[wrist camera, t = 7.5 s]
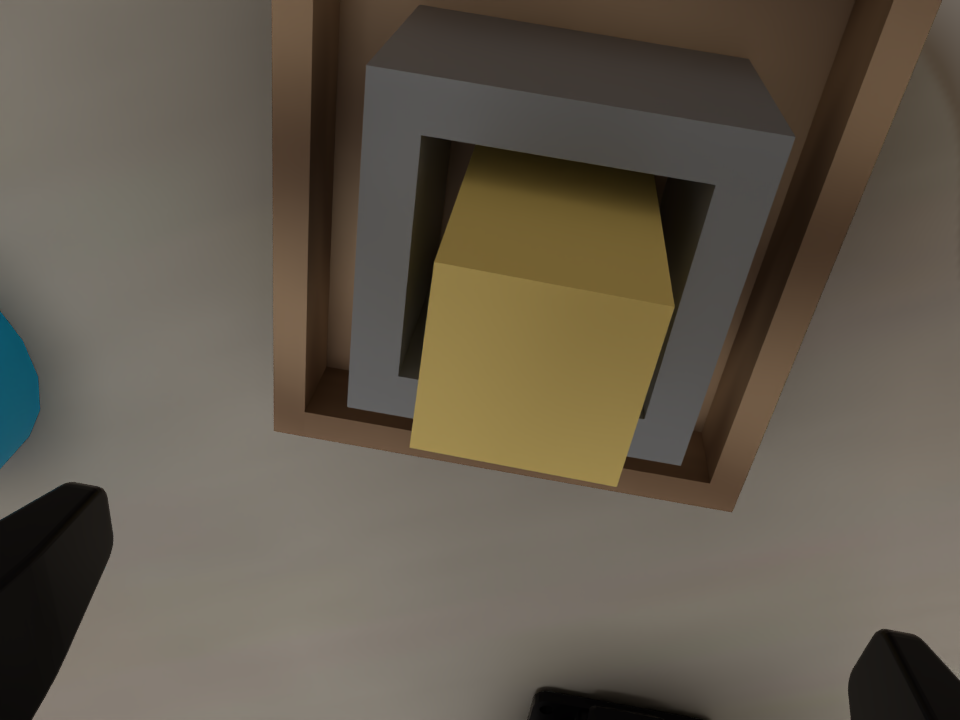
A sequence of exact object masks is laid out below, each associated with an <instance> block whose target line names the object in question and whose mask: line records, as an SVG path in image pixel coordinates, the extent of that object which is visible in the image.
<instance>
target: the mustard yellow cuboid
mask: <svg viewBox="0 0 960 720" xmlns="http://www.w3.org/2000/svg"><path fill="white" fill-rule="evenodd" d="M674 308H675V305H674V299H673V293H672V286H671V280H670V274H669V267H668V261H667V254H666V248H665V242H664V235H663V229H662V223H661V216H660V210H659V203H658V197H657V191H656V184H655V178H654V174H648V173H642V172H636V171H630V170H624V169H618V168H612V167H606V166H600V165H595V164H589V163H583V162H577V161H571V160H565V159H559V158H553V157H547V156H541V155H535V154H529V153H524V152H518V151H512V150H506V149H500V148H494V147H488V146H482V145H475V148H474V151H473V153H472V156H471V159H470V162H469V165H468V168H467V170H466V173H465V176H464V179H463V182H462V185H461V187H460V190H459V193H458V196H457V199H456V202H455V204H454V207H453V210H452V213H451V216H450V219H449V221H448V224H447V227H446V230H445V233H444V235H443V238H442V241H441V244H440V247H439V250H438V252H437V255H436V258H435V261H434V267H433V274H432V282H431V289H430V297H429V304H428V312H427V320H426V327H425V335H424V342H423V350H422V357H421V365H420V372H419V380H418V387H417V395H416V402H415V410H414V417H413V425H412V432H411V440H410V447H409V448H414V449H419V450H425V451H430V452H435V453H440V454H446V455H451V456H456V457H461V458H467V459H472V460H477V461H482V462H488V463H493V464H498V465H503V466H509V467H514V468H519V469H524V470H530V471H535V472H540V473H545V474H551V475H556V476H561V477H566V478H572V479H577V480H582V481H587V482H593V483H598V484H603V485H608V486H614V487H617V485H618V482H619V478H620V475H621V472H622V469H623V466H624V463H625V460H626V457H627V454H628V450H629V447H630V444H631V441H632V438H633V435H634V432H635V429H636V426H637V423H638V419H639V416H640V413H641V410H642V407H643V404H644V401H645V398H646V395H647V392H648V388H649V385H650V382H651V379H652V376H653V373H654V370H655V367H656V364H657V360H658V357H659V354H660V351H661V348H662V345H663V342H664V339H665V336H666V333H667V329H668V326H669V323H670V320H671V317H672V314H673V311H674Z"/></svg>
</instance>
